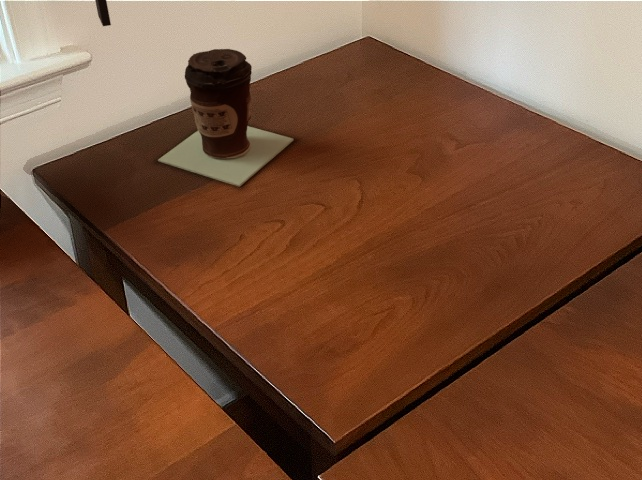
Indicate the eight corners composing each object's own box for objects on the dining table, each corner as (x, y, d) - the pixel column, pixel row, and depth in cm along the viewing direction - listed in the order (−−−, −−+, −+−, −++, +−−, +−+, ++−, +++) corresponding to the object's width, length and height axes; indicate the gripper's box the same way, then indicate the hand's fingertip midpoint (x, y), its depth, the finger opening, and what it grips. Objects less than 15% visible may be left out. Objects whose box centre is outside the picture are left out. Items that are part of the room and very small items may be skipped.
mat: (158, 161, 108) (157, 159, 108) (216, 119, 117) (215, 117, 117) (239, 186, 103) (239, 185, 103) (293, 140, 112) (293, 138, 112)
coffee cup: (241, 170, 106) (230, 78, 98) (183, 160, 108) (168, 68, 100) (267, 138, 112) (260, 48, 104) (213, 128, 114) (201, 40, 106)
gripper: (-222, -211, 57) (-115, 70, 71) (135, -231, 65) (171, 26, 78) (-211, -227, 63) (-113, 36, 76) (118, -244, 70) (154, -2, 84)
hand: (31, 31), depth 77 cm, fingers open, 13 cm apart
